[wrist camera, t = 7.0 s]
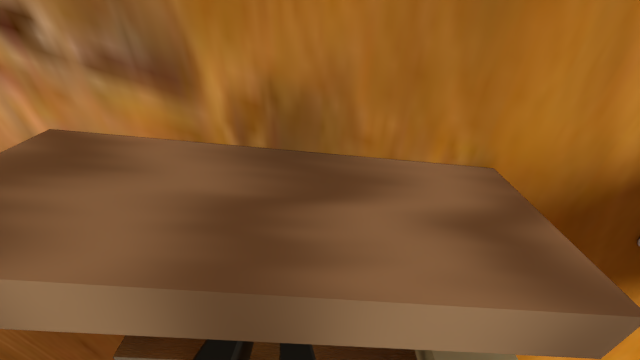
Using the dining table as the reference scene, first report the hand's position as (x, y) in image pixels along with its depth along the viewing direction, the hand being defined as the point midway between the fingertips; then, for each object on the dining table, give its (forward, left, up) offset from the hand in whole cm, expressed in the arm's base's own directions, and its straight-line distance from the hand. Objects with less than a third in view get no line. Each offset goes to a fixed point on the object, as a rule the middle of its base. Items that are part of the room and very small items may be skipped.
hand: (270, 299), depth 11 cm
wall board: (0, -5, -2) cm, 5 cm away
